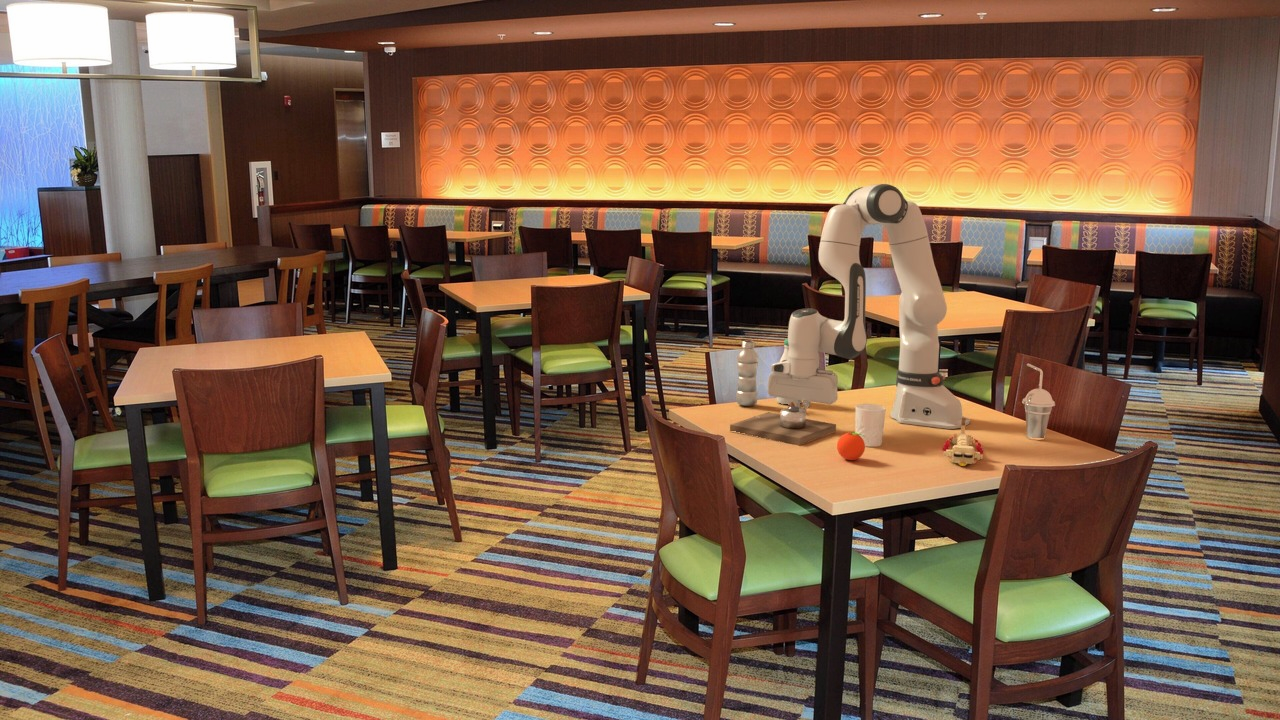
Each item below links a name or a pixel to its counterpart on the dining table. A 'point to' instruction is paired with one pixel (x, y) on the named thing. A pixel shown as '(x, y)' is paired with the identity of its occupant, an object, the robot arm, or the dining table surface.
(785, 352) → the milk bottle
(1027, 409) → the cup with straw
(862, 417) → the white cup
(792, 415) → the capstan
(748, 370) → the plastic bottle
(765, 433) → the walnut stand
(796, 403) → the robot arm
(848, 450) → the clementine
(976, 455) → the blocky toy figure
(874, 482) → the dining table surface
